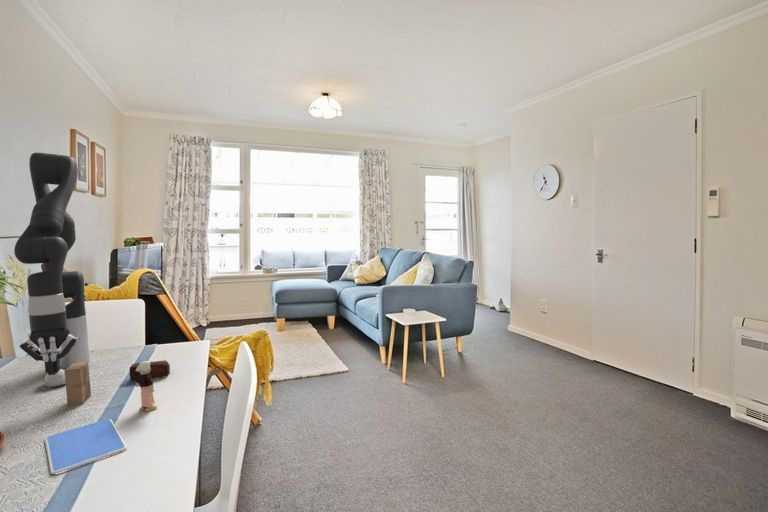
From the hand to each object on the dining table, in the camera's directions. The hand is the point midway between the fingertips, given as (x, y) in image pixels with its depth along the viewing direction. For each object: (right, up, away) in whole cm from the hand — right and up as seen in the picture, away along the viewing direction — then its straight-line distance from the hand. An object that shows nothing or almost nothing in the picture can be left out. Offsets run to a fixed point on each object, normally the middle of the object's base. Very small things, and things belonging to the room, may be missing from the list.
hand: (53, 373), depth 106 cm
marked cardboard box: (+5, -8, +3) cm, 10 cm away
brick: (+15, -7, +19) cm, 25 cm away
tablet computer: (+24, -10, -20) cm, 33 cm away
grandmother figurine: (+28, -8, -3) cm, 29 cm away
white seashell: (-11, -8, +16) cm, 21 cm away
